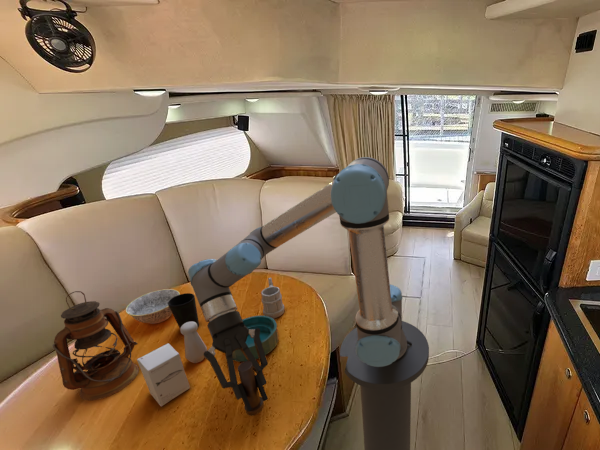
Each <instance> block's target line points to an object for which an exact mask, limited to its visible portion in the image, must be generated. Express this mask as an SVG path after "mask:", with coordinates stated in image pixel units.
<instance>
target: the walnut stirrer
mask: <svg viewBox="0 0 600 450" xmlns="http://www.w3.org/2000/svg"><path fill="white" fill-rule="evenodd" d="M237 372H238V376H239V380H240V383H242V385H243V388H244V391H245V393H246V396H247V398H248V401H249V403H250V406H251V410H250V411H247V410H246V408H245V405H244V411H245V414H246V415H247V416H249V417H251V416H252V417H254V416H257V415H258V414H260V413H262V411H263V410H264V407H265V401H264V402H263V399H262V397H261V395H260V392H259V389H258V387H257V382H256V378H255V375H256V373H255V371H254V369H253V365H252V362H250V361H245V362H241V363H239V365H238V366H237Z"/></svg>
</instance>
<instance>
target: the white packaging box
mask: <svg viewBox="0 0 600 450" xmlns="http://www.w3.org/2000/svg"><path fill="white" fill-rule="evenodd" d="M136 361H137V364H138V367H139V370H140V371H141V374H142V377H143V379H144V382H145V384H146V386H147V389H148V392H149V394H150V396H152V397H153V399H154V400H155V402H156V403H157V404H158V405H159V406H160V407H161V408H162V407H163V406H165V405H166V404H168V403H170V401H172V400H173V399H175V398H177V397H178V396H180V395H182V394H183V393H185V392H186V391H188V390H189V389H191V385H190V382H189V380H188V377H187V374H186V371H185V368H184V364H183V361H182V358H181V355H180V353H179V352H178V351H177V350H176V349H175V348H174V347H173V346H172V345H171V344H170V343H165V344H163V345H162V346H160V347H158V348H156V349H154V350H152V351H150V352H148V353H146V354H145V355H143V356H140V357H138V358H136Z"/></svg>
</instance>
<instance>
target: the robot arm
mask: <svg viewBox="0 0 600 450" xmlns="http://www.w3.org/2000/svg"><path fill="white" fill-rule="evenodd" d="M389 186H390V177H389V172H388V170H387V168H386V167H385V165H384V164H383V163H382V162H381V161H379V160H378V159H376V158H373V157H369V156H362V157H357V158H355V159H354V160H352V161H351V162H350V163H349V164H348V165H347V166H346V167H344V168H343V169H341V170H340V171H339V172H338V173H337V174H335V175H333V178H332V182H330V183H328V184H327V185H325V186H324V187H322V188H320V189H319V190H317V191H315V192H314V193H312V194H311V195H309V196H308V197H306V198H304V199H303V200H301V201H299V202H298V203H296V204H295V205H293V206H292V207H290V208H289V209H287V210H285V211H284V212H282V213H281V214H279V215H278V216H276V217H274V218H273V219H271V220H270V221H267V223H264V224H263V225H262V226H259V227H257V228H255V229H253V230H252V231H251V232H249V234H248V235H247V236H246V237H245V238H243V239H242V240H241V241H239V242H238V243H237V244H236V245H234V246H233V247H232V248H230V249H229V250H228V251H227V252H226V253H224V254H223V255H221V256H220V257H219V258H218V259H215V258H207V259H203V260H200V261H198V262H197V263H193V264H192V265H190V267H189V268H188V270H187V274H188V278H189V281H190V285H191V287H192V289H193V292H194V295H195V298H196V299H197V302H198V304H199V307H200V310H201V313H202V315H203V317H204V321H205V322H206V323H207V328H208V331H209V334H210V338H211V339H212V343H211V347H209V348H208V349H207V351H205V352H204V355H203V356H204V359H205V360H206V361H208V362H209V364H210V366H211V369H212V370H213V372H214V374H215V376H216V378H217V381H218V383H219V384H220V386H221V388H222V389H229V388H230V389H232V392H233V394H234V397H235V399H236V400H237V401H239V400H241V399H242V402H243V405H244V406H245V408H246V410H247V411H250V410H251V406H250V403H249V401H248V398H247V396H246V393H245V391H244V388H243V385H242V383H241V382H240V383H238V378H237V373H236V368H235V367H236V366H235V360H233V356H232V353H233V352H234V351H235V350H239V349H240V350H241V351H242V352H243V354H244V355H245V357H246V359H247V360H248V361H250V362H252V365H253V369H254V373H255V378H256V382H257V387H258V391H259V395H260V397H262V399H263V402H264V403H265V402H266V401H268V400H269V398H268V395H267V392H266V390H265V385H267V379H266V377H265V375H264V369H265V368H266V367H267V366H268V364H269V362H268V359H267V356H266V355H267V354H266V355H265V352H264V349H263V346H262V343H261V340H260V329H259V328H256V329H248V328H247V327H246V326H245V325H244V323H243V317H242V316H241V313H240V311H238V306H237V304H236V301H235V299H234V296H233V293H232V291H231V288H230V287H232V286H234V285H235V284H236V283H238V282H239V281H240V280H241V279H243V278H245V277H247V276H248V275H250V274H252V273H253V272H254V271H255V270H256V269H257V268H258V267H259V266H261V264H262V260H263V259H264V258H265V256H267V255H268V254H269V253H271V252H272V251H274V250H276V249H277V248H279V247H280V246H283V245H284V244H286V243H287V242H289V241H290V240H292V239H294V238H295V237H297V236H299V235H301V234H302V233H304V232H305V231H307V230H309V229H310V228H312V227H314V226H316V225H317V224H320V223H321V222H323V221H324V220H326V219H327V218H329V217H331V216H333V215H334V214H337V215H338V216H339V222H340V223H339V224H340V226H341V227H342V228H343V229H345V230H346V231H347V232H348V238H349V239H348V240H349V246H350V253H351V259H352V267H353V274H354V281H355V287H356V292H357V299H358V306H359V310H357V312H356V314H355V327H357V333H358V341H357V343H356V354H357V356H358V358H359V359H360V360H361V361H362V362H363V363H366V364H367V365H370V366H375V367H383V366H387V365H390V364H392V363H395V362H397V361H399V360H400V359H401V358H403V357H404V355H405V354H406V351H407V344H409V345H412V343H411V342H409V341H407V339H406V337H405V334H404V332H403V329H402V321H403V294H402V290H401V289H400V287H398V286H396V285H394V284H390V275H389V266H388V254H387V245H386V236H385V235H386V234H385V225H386V224H387V223H388V222H389V220H390V212H389V211H390V210H389V199H388V189H389ZM248 334H250V336H251V338H253V339H254V344H255V347H256V350H257V353H258V357H259V358H258V359H259V362H258V361H257V359H255V357H254V356H253V354H252V353H251V351H250V350H249V348H248V346H247V344H246V340H247V336H248ZM216 350H217V351H219V352H221V353H223V354H224V356H225V360H226V361H225V362H226V366H227V371H228V377H229V381H228V380H227V378H226V376H225V374H224V372H223V370H222V368H221V365H220V364H219V362H218V359H217V358H216V357H215V356H216V355H217V354H216ZM259 363H260V364H259ZM245 408H244V409H245Z"/></svg>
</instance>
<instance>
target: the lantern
mask: <svg viewBox="0 0 600 450" xmlns="http://www.w3.org/2000/svg"><path fill="white" fill-rule="evenodd" d="M74 293H81V294H82V295H83V297H84V302H80V303H76V304H75V305H73V306H70V304H69V303H68V298H69V296H70V295H73V294H74ZM65 302H66V304H67V306H68V308H66V309H65V310H63V311H62V312H61V314H60V317H61V319H64V321H63V324H64V328H63V329H61V330H60V331H59V332H57V334H56V335H55V336H54V339H53V344H52V348H53V349H54V350H55V352H56V357H57V362H58V367H59V368H58V369H59V371H60V372H59V373H60V375H61V380H62V385H63V386H64V388H65V389H66V390H70V391H74V390H78V389H80V390H79V397H80V399H82V400H83V401H97V400H98V401H99V400H102V399H104V398H108V397H110V396H113V395H114V394H116V393H119V392H120V391H122V390H123V389H125V388H127V387H128V386H129V385H130V384H131V383H132V382H133V381H135V379H136V378H137V376H138V375H139V372H140V366H139V365H137V364H136V363H134V362H133V360H132V352H133V351H134V349H135V346H137V345H139V344H138V342H137V341H135V340H134V338H133V337H132V335H131V333H130V332H129V330H128V329H127V328H126V326H125V325H124V323H123V320H122V318H121V315H120V312H118V311H117V310H114V309H112V308H108V307H106V308H105V307H104V308H102V309H100V308H99V307H100V305H101V304H100V302H99V301H97V300H91V301H87V299H86V294H85V293H84V292H83V291H81V290H75V291H72V292H71V293H69V294H67V295H66V297H65ZM108 325H110V326H111V327H112V329H113V330H114V332H115V333H116V334H117V335H116V334H115V333H114V332H112V331H111V329H109V328H106V327H107V326H108ZM112 335H113V336H115V341H114V342H113V344H112V347H108V346H104V348H105V349H108V350H104V351H102V352H99V353H97V354H95V355H86V354H87V352H88V350H89V349H92V348H103V346H102V345H101V344H103V343H105V342H106V341H108V340H109V338H110V337H111V336H112ZM118 337H119V338H118ZM118 339H120V340H121V342H122V343H123V345H124V347H123V352H122V353H121V351H119V349H116V347H117V345H118ZM68 340H70V341H71V340H72V341H73V340H74V343H73V344H74V346H73V347H74V349H75V350H73V351H72V355H73V356H74V357H76V358H72V357H71V353H70V349H69V344H68ZM80 350H81V351H82V350H84V352H83V354H82V355H79V354H77V353H78V352H80ZM78 358H81V362H79V360H78ZM84 358H89V359H87V361H85V362H84ZM81 363H82V364H81ZM74 370H75V371H74Z"/></svg>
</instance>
